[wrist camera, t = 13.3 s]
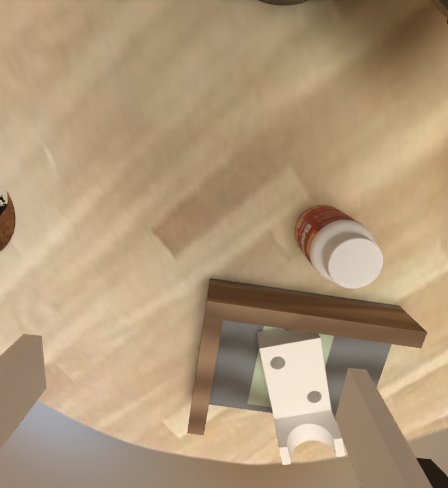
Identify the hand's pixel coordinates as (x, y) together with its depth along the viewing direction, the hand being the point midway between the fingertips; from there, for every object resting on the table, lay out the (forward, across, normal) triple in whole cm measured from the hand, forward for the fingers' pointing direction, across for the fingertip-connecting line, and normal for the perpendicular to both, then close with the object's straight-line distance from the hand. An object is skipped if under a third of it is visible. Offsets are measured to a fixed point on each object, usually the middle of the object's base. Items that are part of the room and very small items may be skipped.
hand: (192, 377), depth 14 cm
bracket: (+24, -11, +18) cm, 32 cm away
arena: (+25, -11, +16) cm, 32 cm away
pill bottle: (+26, -12, 0) cm, 28 cm away
